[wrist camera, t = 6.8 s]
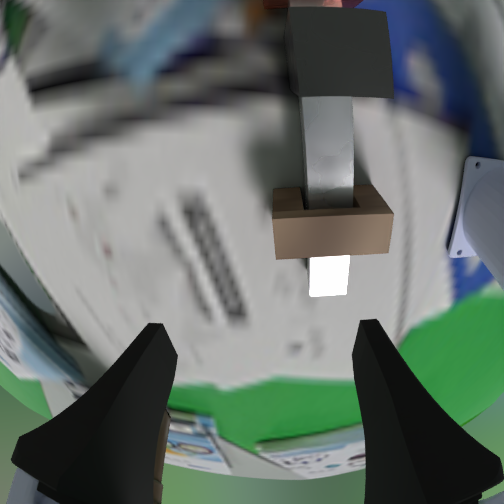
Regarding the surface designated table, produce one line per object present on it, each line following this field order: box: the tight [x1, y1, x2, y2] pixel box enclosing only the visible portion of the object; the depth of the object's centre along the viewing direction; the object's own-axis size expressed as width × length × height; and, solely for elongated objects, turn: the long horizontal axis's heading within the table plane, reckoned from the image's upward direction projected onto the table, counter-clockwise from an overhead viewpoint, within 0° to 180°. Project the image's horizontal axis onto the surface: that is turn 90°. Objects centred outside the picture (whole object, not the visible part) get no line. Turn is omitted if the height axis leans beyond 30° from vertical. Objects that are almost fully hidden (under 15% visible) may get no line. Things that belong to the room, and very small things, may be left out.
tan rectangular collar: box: [272, 185, 394, 260], centre depth 16 cm, size 6×2×4 cm, turn 97°
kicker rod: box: [263, 0, 394, 296], centre depth 12 cm, size 5×19×7 cm, turn 7°
